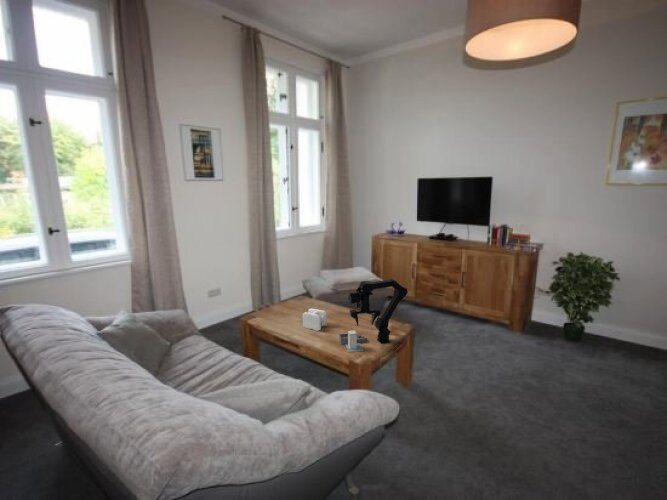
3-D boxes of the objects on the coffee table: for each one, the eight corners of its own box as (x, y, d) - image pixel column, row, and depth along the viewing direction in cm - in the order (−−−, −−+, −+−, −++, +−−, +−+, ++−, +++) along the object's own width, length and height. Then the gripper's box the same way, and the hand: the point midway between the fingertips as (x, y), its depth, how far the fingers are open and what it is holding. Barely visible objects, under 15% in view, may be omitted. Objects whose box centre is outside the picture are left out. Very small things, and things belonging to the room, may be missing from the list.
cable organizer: (301, 327, 248) (301, 312, 246) (310, 322, 257) (309, 307, 255) (319, 332, 241) (319, 316, 239) (327, 326, 250) (327, 310, 248)
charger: (354, 344, 221) (354, 330, 219) (356, 348, 217) (356, 333, 215) (348, 345, 221) (348, 330, 219) (349, 348, 217) (349, 333, 214)
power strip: (363, 337, 232) (363, 332, 231) (365, 342, 226) (365, 336, 225) (339, 339, 229) (339, 334, 228) (341, 344, 223) (341, 338, 222)
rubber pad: (360, 343, 224) (360, 343, 224) (363, 350, 215) (363, 350, 215) (345, 344, 222) (345, 344, 222) (348, 352, 213) (348, 351, 213)
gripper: (375, 296, 226) (375, 318, 230) (347, 298, 223) (347, 321, 227) (381, 302, 215) (380, 326, 219) (351, 304, 212) (351, 328, 216)
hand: (364, 325), depth 220 cm, fingers open, 9 cm apart
